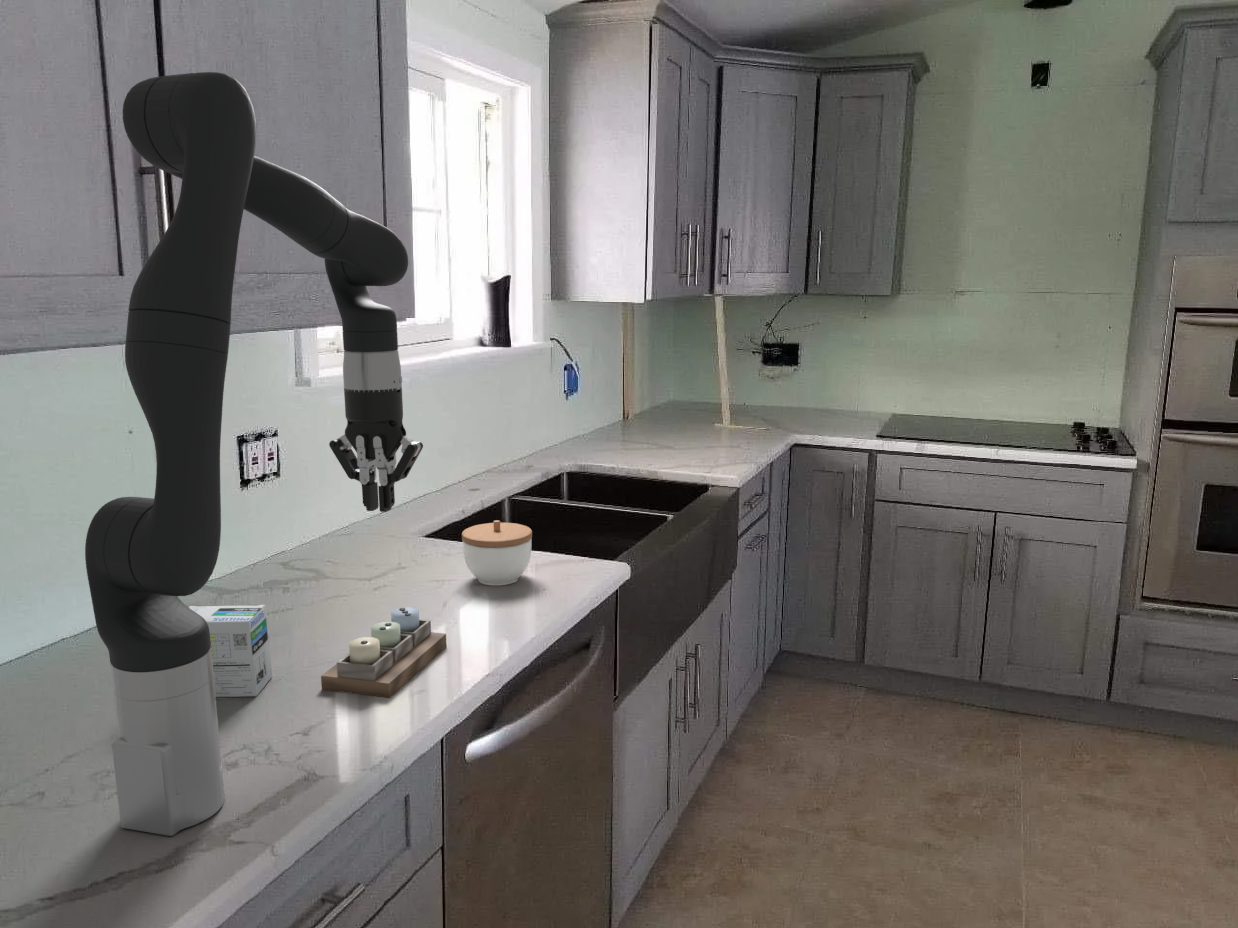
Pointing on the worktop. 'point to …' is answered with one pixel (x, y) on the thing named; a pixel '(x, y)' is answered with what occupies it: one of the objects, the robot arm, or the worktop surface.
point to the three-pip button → (406, 619)
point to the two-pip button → (387, 633)
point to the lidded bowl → (497, 551)
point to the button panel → (387, 665)
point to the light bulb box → (238, 648)
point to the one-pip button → (364, 650)
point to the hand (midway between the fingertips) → (379, 509)
